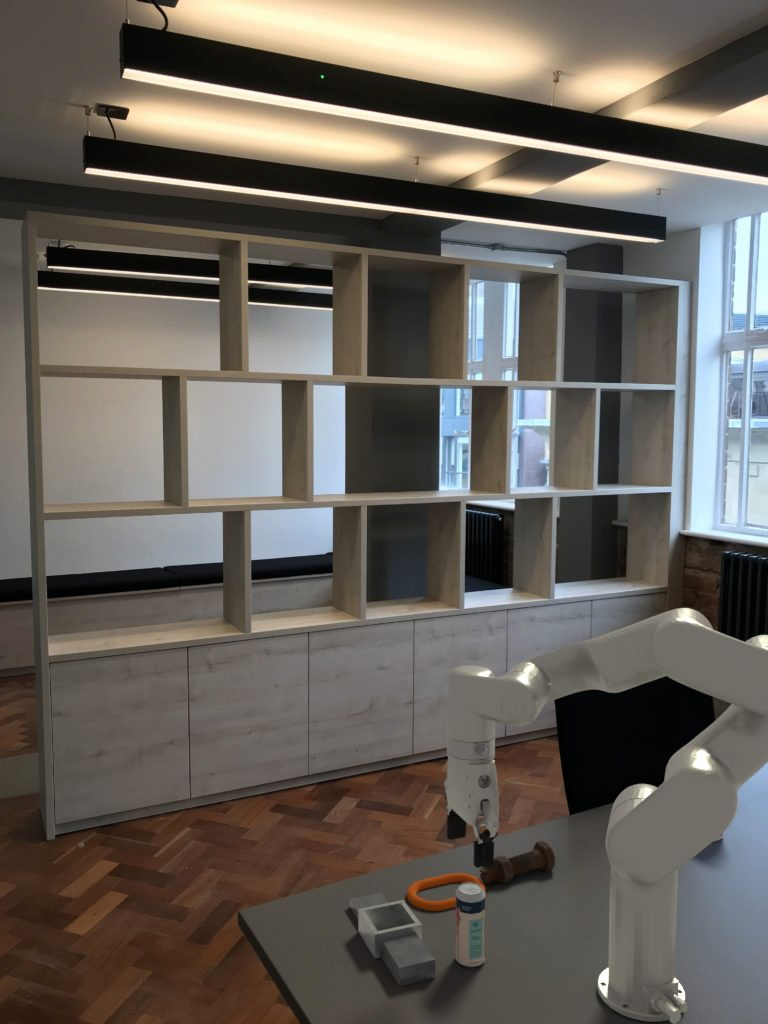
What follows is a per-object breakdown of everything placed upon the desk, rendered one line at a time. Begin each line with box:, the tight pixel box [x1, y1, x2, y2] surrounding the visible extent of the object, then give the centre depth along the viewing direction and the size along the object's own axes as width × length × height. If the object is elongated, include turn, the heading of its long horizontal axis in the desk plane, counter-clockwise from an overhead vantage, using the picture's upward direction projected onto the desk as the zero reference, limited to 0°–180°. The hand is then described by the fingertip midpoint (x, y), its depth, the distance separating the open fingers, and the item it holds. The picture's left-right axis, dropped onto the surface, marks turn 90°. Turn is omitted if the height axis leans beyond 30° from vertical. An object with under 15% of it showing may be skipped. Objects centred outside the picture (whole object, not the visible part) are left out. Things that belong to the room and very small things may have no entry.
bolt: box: [478, 840, 556, 885], centre depth 164 cm, size 6×5×15 cm
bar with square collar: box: [349, 892, 436, 987], centre depth 143 cm, size 24×8×4 cm, turn 20°
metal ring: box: [406, 872, 487, 912], centre depth 158 cm, size 10×2×15 cm
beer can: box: [454, 882, 487, 968], centre depth 137 cm, size 5×5×12 cm
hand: (469, 851), depth 136 cm, fingers open, 9 cm apart
